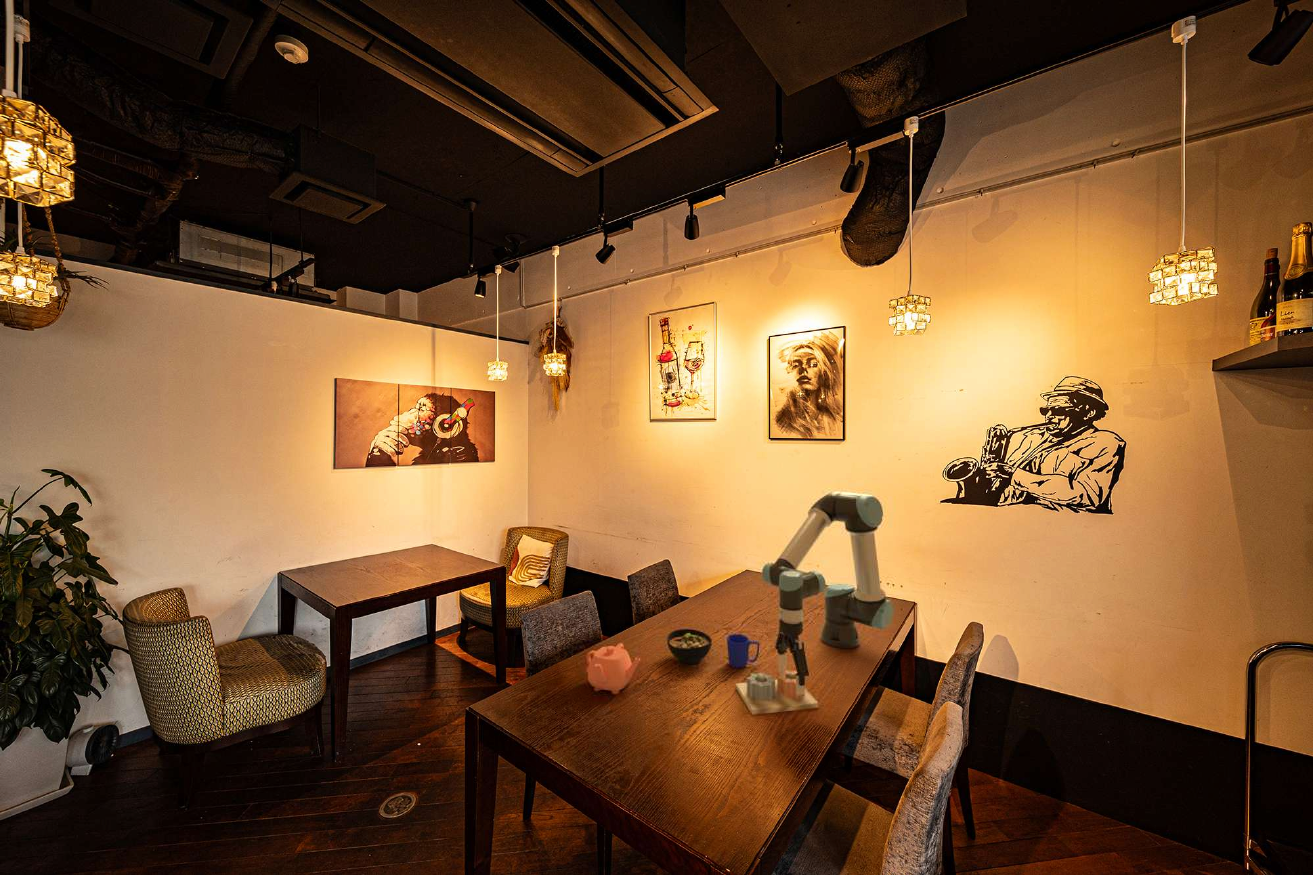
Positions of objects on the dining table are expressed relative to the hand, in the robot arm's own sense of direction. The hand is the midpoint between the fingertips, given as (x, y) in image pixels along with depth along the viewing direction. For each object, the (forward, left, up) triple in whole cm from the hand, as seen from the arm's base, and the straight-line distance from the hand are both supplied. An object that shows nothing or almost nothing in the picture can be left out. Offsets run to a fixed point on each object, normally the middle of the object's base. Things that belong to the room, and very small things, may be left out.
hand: (791, 683), depth 162 cm
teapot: (+58, -16, -4) cm, 61 cm away
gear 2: (0, 0, -3) cm, 3 cm away
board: (+6, 0, -4) cm, 7 cm away
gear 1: (+10, 0, -3) cm, 11 cm away
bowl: (+28, -30, -4) cm, 41 cm away
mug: (+8, -23, -4) cm, 25 cm away
